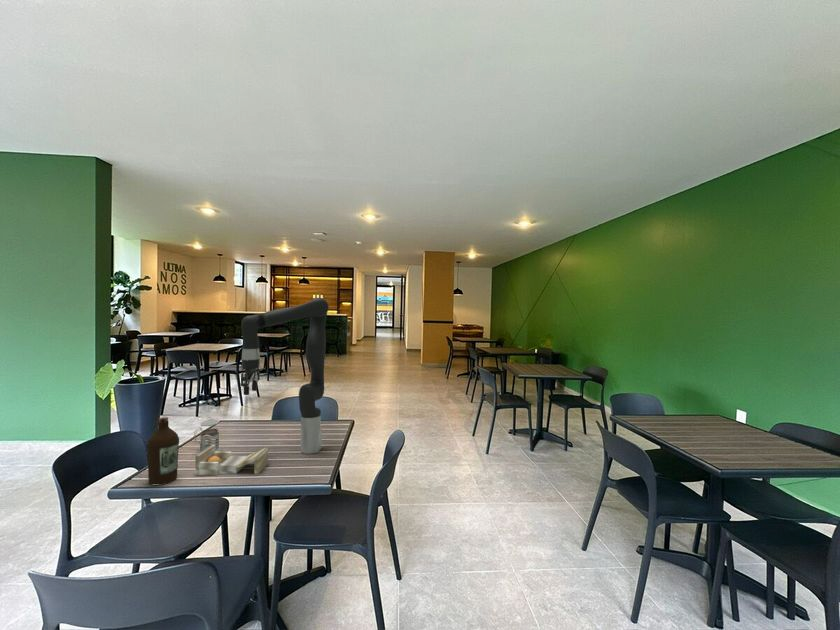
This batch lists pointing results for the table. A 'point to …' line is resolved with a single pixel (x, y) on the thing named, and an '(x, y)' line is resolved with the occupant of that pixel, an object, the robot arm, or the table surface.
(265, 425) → the table surface
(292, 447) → the table surface
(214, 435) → the french press
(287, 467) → the table surface
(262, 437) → the table surface
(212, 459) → the ball
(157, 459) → the olive oil
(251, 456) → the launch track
